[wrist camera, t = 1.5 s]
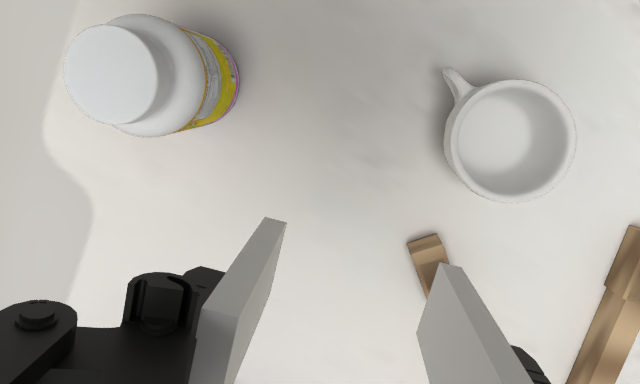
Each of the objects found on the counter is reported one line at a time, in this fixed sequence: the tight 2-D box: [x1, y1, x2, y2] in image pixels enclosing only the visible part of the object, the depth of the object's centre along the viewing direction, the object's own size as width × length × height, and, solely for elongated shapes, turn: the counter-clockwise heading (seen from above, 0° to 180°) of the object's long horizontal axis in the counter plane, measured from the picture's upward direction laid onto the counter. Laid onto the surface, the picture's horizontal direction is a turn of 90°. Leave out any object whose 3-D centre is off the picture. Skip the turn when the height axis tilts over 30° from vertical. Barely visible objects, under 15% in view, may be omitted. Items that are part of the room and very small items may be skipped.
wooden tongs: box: [566, 225, 640, 384], centre depth 35 cm, size 25×4×3 cm, turn 166°
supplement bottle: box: [63, 14, 239, 137], centre depth 28 cm, size 7×7×13 cm
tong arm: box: [407, 234, 449, 299], centre depth 36 cm, size 21×2×2 cm, turn 21°
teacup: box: [442, 67, 577, 203], centre depth 30 cm, size 10×8×5 cm
